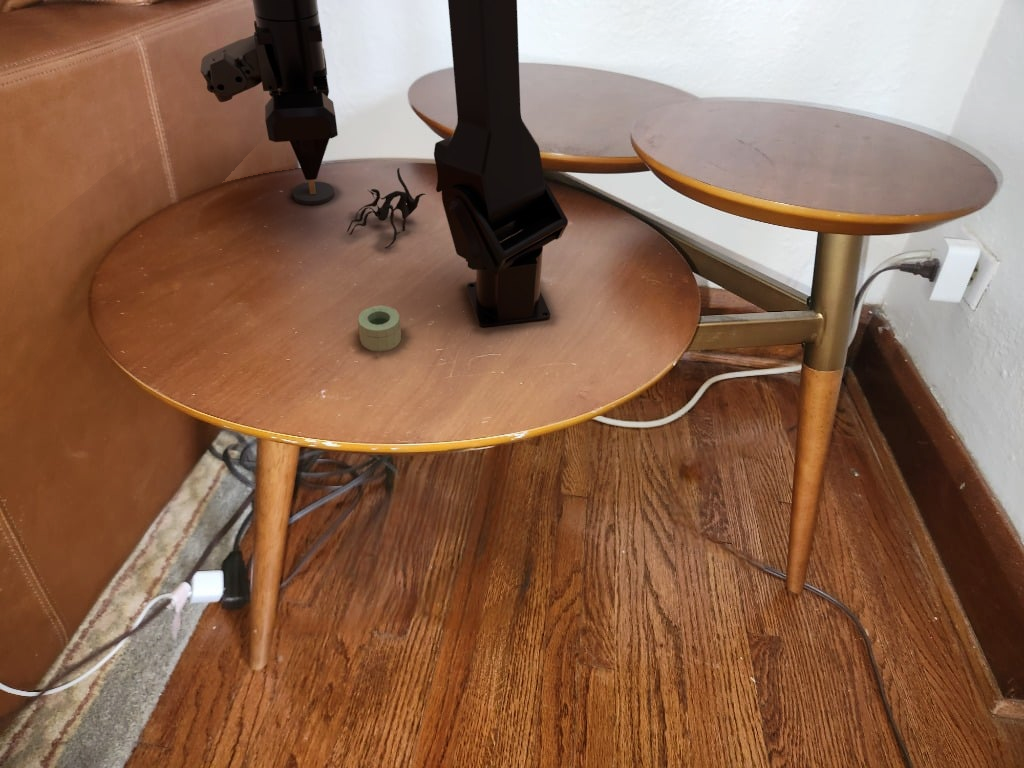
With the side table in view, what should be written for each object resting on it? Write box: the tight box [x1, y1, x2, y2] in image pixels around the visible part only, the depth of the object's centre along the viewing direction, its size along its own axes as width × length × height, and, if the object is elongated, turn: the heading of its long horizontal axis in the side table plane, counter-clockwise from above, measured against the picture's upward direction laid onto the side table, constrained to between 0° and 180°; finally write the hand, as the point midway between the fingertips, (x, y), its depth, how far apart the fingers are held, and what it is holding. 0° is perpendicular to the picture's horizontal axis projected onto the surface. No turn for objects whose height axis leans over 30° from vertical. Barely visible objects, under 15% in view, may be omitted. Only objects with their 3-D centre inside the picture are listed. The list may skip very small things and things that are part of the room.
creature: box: [346, 167, 427, 249], centre depth 78 cm, size 8×5×8 cm
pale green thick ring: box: [357, 304, 402, 352], centre depth 66 cm, size 3×4×2 cm
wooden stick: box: [307, 180, 316, 194], centre depth 81 cm, size 1×1×9 cm
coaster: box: [292, 180, 336, 206], centre depth 85 cm, size 4×4×1 cm
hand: (309, 168), depth 83 cm, fingers open, 5 cm apart
